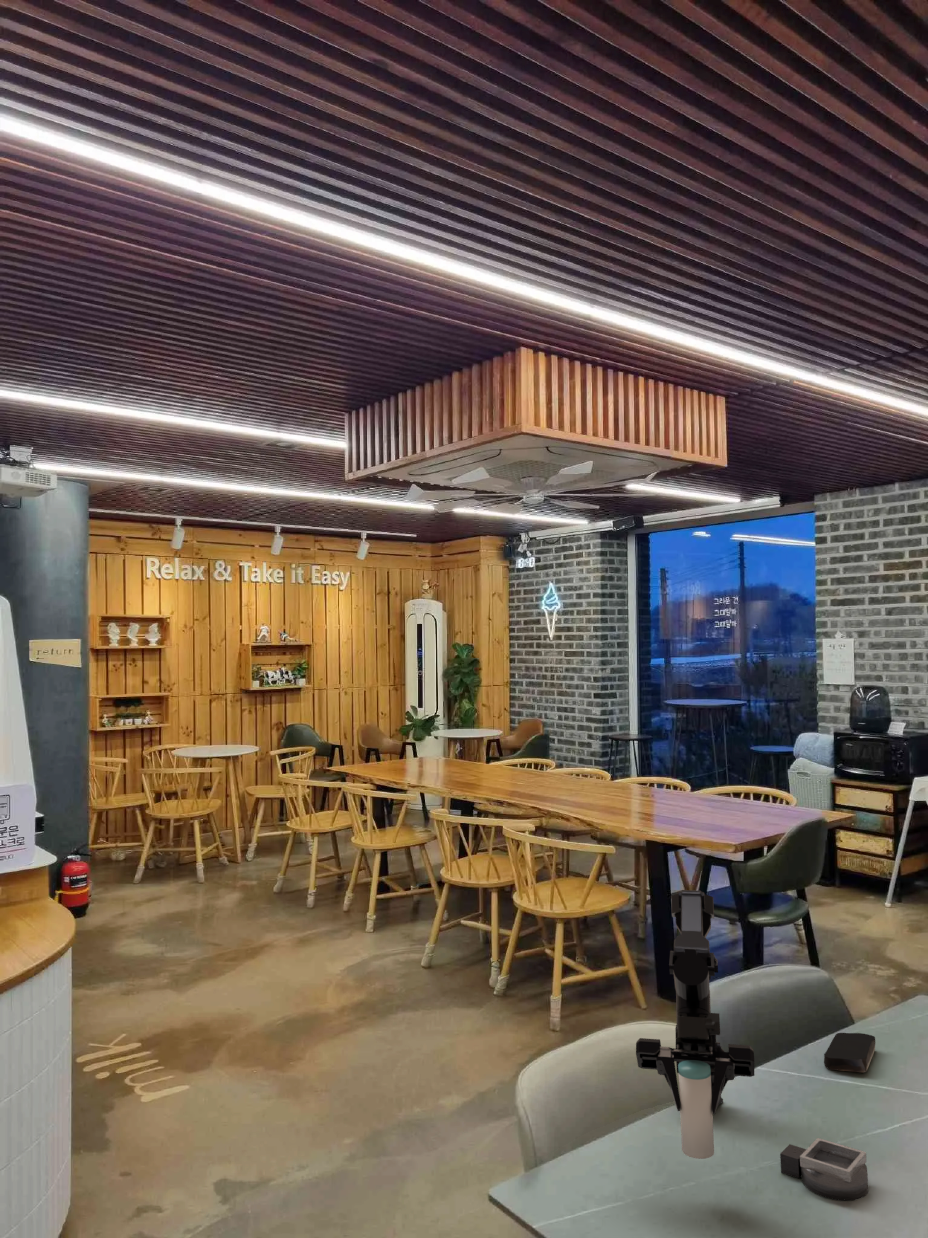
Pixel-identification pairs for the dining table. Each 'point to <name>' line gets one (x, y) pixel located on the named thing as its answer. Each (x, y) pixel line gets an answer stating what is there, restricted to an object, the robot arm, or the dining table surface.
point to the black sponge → (850, 1052)
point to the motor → (828, 1169)
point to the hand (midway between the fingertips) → (696, 1112)
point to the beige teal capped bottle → (696, 1109)
